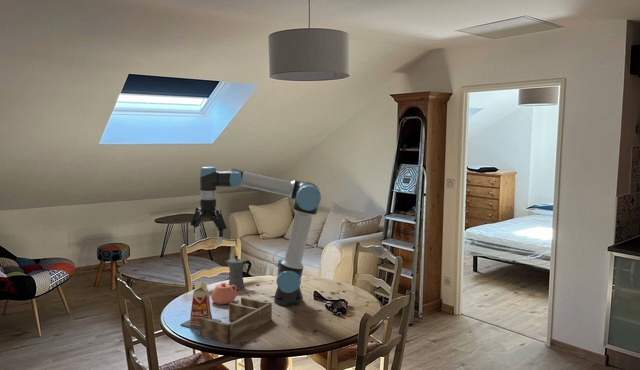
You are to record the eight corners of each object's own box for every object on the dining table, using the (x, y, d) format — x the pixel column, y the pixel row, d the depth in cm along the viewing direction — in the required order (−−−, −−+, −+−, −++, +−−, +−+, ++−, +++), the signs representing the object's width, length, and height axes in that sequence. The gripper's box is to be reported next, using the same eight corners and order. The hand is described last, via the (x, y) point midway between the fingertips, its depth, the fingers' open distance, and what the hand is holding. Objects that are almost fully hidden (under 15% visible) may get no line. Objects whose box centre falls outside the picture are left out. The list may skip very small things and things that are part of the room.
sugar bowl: (208, 300, 275) (208, 281, 274) (233, 296, 282) (233, 277, 281) (215, 307, 265) (215, 288, 263) (242, 303, 272) (242, 284, 270)
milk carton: (192, 318, 248) (192, 277, 245) (212, 318, 248) (212, 277, 246) (189, 325, 239) (188, 283, 236) (209, 326, 239) (209, 283, 237)
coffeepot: (222, 288, 295) (222, 257, 293) (227, 283, 304) (227, 253, 302) (249, 290, 293) (249, 258, 291) (253, 285, 302) (253, 254, 300)
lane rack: (199, 336, 230) (199, 318, 229) (242, 312, 258) (242, 297, 257) (230, 344, 222) (230, 326, 221) (271, 319, 251) (271, 303, 250)
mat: (180, 325, 241) (180, 324, 241) (199, 316, 252) (199, 315, 252) (202, 331, 235) (202, 329, 235) (221, 321, 246) (221, 320, 246)
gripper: (183, 197, 256) (183, 239, 259) (224, 202, 245) (224, 246, 248) (193, 195, 263) (193, 237, 266) (233, 200, 252) (233, 243, 254)
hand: (208, 241), depth 257 cm, fingers open, 13 cm apart
